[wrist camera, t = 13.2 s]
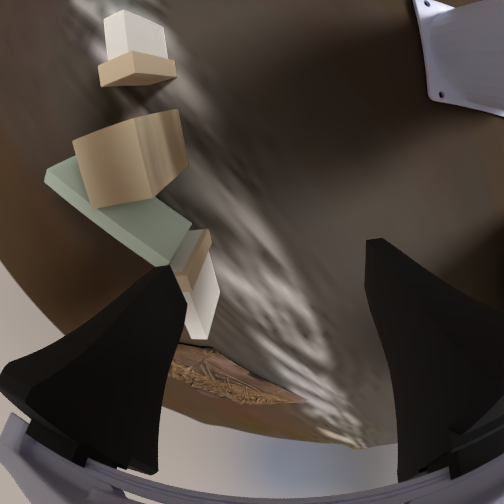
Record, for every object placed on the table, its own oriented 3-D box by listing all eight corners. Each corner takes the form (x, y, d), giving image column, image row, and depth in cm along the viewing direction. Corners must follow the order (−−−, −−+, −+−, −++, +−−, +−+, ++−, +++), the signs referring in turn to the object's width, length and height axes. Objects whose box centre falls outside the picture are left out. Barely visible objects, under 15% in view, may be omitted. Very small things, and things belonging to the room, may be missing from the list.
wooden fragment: (112, 348, 31) (109, 354, 30) (126, 300, 25) (122, 307, 24) (277, 413, 36) (276, 419, 35) (326, 385, 31) (326, 392, 30)
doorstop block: (178, 108, 15) (133, 118, 10) (189, 165, 17) (152, 198, 12) (126, 123, 16) (72, 141, 11) (138, 175, 18) (92, 209, 13)
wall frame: (169, 25, 12) (126, 4, 7) (224, 292, 23) (211, 343, 18) (141, 34, 12) (93, 21, 7) (202, 292, 23) (185, 342, 18)
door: (89, 149, 16) (47, 169, 12) (192, 223, 19) (170, 261, 15) (82, 166, 17) (42, 189, 13) (181, 238, 20) (158, 277, 16)
